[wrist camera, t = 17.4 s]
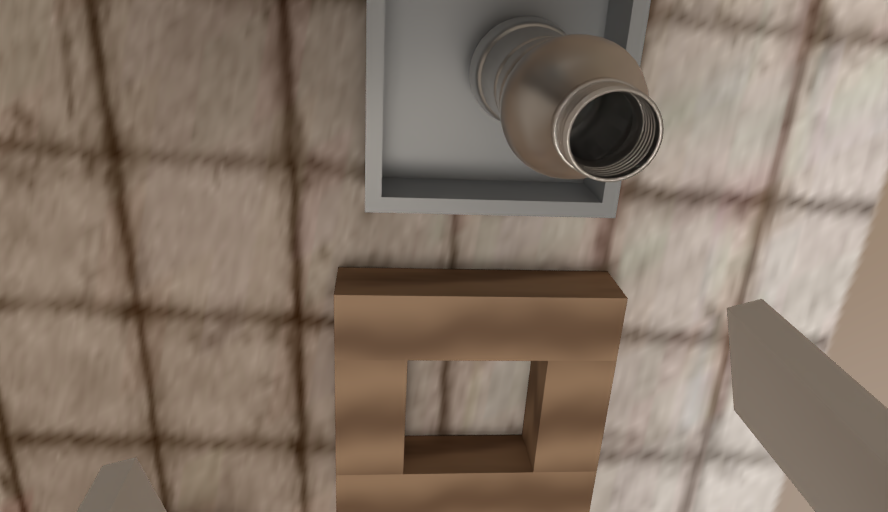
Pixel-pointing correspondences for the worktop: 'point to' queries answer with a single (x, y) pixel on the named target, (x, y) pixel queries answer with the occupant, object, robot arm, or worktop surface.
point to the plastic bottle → (566, 100)
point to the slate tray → (467, 109)
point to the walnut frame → (473, 339)
